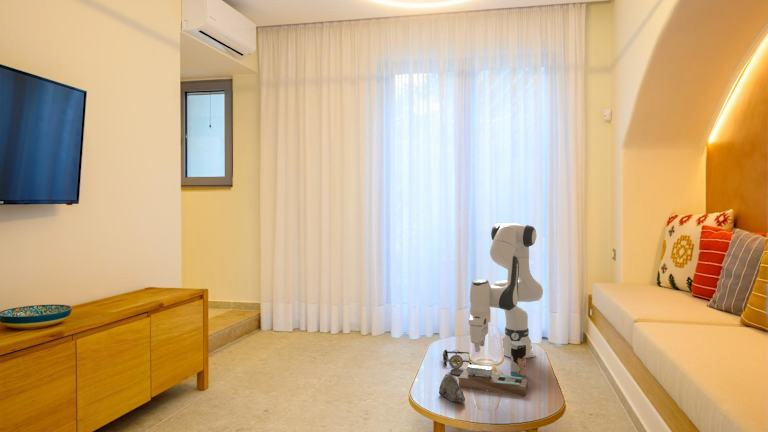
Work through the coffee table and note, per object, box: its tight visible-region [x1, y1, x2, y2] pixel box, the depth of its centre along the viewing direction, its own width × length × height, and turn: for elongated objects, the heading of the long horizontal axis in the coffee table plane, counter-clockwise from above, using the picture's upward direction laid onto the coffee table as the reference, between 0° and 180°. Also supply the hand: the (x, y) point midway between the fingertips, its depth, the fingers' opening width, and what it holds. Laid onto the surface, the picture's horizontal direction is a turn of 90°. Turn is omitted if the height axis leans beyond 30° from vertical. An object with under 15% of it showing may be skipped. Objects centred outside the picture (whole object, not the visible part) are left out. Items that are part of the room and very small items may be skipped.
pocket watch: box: [448, 349, 465, 376], centre depth 233 cm, size 8×8×10 cm
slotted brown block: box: [458, 369, 529, 397], centre depth 214 cm, size 10×28×4 cm, turn 67°
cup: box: [510, 341, 527, 378], centre depth 229 cm, size 7×7×15 cm
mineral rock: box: [438, 373, 466, 404], centre depth 201 cm, size 13×11×10 cm
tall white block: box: [467, 364, 493, 379], centre depth 217 cm, size 3×10×8 cm, turn 67°
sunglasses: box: [442, 349, 473, 366], centre depth 247 cm, size 14×15×5 cm
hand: (479, 348), depth 216 cm, fingers open, 8 cm apart
